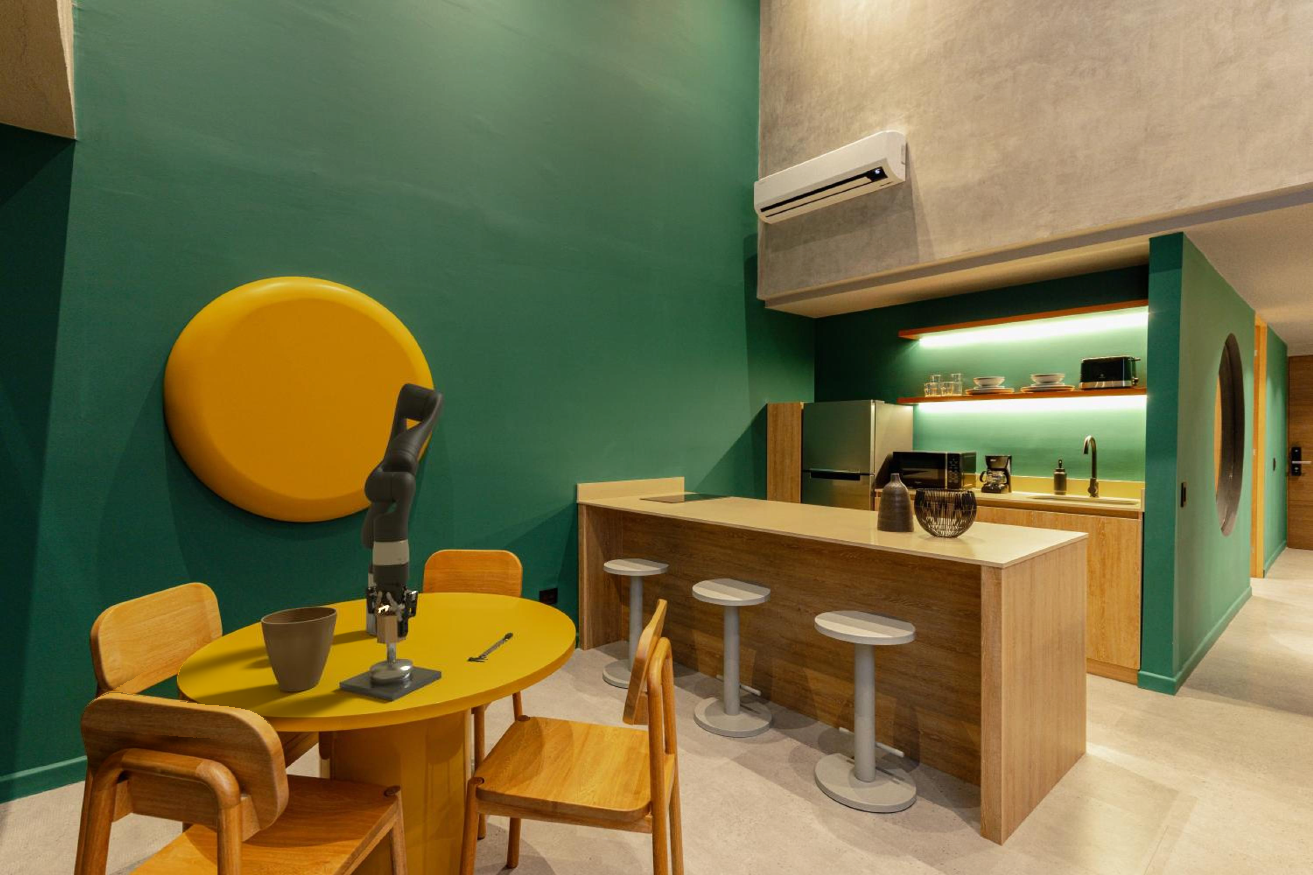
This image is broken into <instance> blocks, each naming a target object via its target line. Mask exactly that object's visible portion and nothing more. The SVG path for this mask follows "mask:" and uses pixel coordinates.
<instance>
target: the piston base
mask: <svg viewBox="0 0 1313 875" xmlns="http://www.w3.org/2000/svg"><path fill="white" fill-rule="evenodd" d="M442 673H443V672H442V671H441V670H436V669H430V668H427V667H426V668H424V667H420V666H415V665H414V662H413V660H411V659H407V658H397V643H391V644H386V660H381V661H378V662H376V663H373V664H372V665H371V666H370V667H369V670H366V671H363V672H362V673H360V674H356V675H355V676H352V677H349V678H347V679H345V680H342V681H340V682H339V685H338V686H339V690H341V691H346V692H350V693H355V694H359V695H363V696H368V697H372V698H377V699H381V700H384V701H385V700H387V701H390V702H394V701H396V700H398V699H401V698H403V697H404V696H407V695H408V694H411V693H413V692H416V691H417V690H419V689H421V688H424V687H425V686H428V685H429V684H432V683H434V682H436V681H439V680H441V679H442V677H443V676H442Z"/></svg>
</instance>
